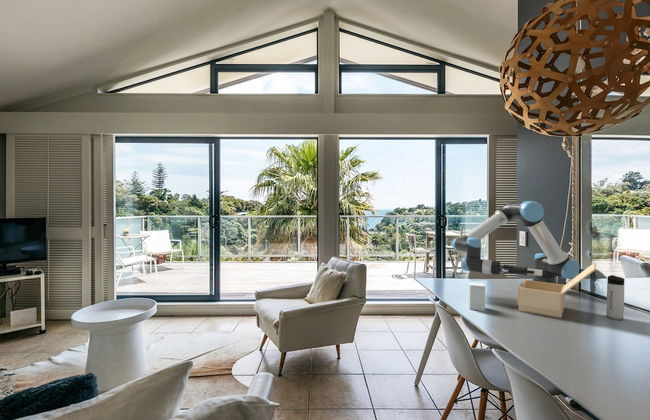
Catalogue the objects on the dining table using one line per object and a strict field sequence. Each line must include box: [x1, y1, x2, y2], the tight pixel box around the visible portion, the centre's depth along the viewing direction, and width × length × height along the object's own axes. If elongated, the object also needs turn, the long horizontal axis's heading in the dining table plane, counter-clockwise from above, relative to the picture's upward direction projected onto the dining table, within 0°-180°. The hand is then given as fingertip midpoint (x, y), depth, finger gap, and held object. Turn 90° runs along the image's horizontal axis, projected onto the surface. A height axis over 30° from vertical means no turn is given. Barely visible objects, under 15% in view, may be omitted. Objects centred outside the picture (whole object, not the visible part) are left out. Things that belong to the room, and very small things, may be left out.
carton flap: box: [562, 262, 597, 294], centre depth 167 cm, size 21×18×1 cm
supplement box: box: [468, 282, 486, 312], centre depth 177 cm, size 7×7×13 cm
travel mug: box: [605, 275, 625, 321], centre depth 164 cm, size 6×7×20 cm
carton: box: [516, 279, 566, 319], centre depth 177 cm, size 23×19×12 cm
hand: (541, 273), depth 175 cm, fingers closed
